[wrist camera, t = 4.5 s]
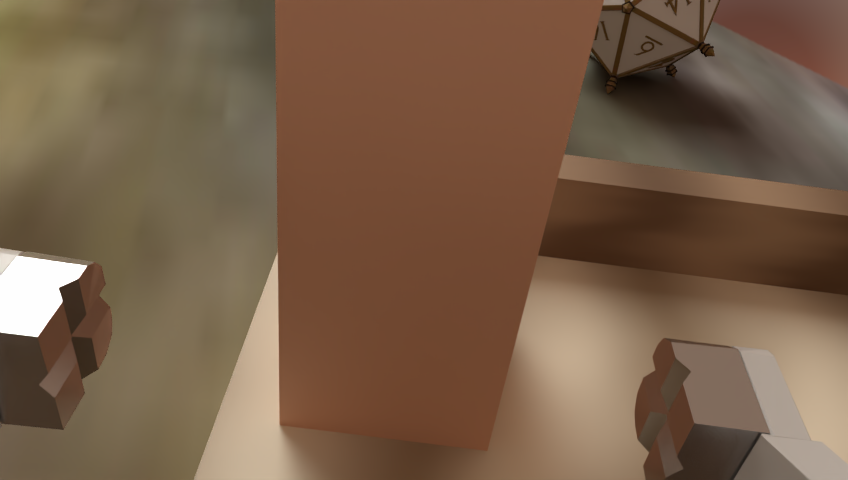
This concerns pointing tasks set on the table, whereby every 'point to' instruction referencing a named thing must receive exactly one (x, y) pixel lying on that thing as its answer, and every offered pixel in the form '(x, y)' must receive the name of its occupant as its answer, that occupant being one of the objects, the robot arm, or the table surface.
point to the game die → (650, 35)
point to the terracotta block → (415, 203)
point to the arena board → (599, 331)
